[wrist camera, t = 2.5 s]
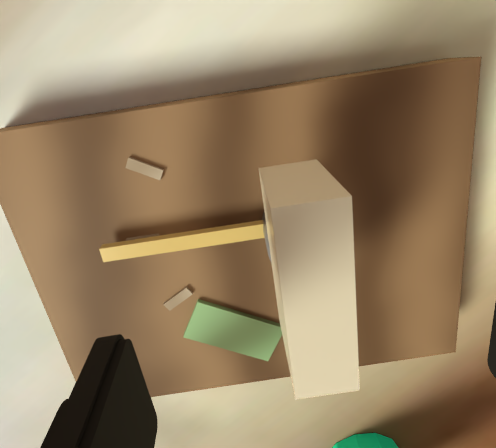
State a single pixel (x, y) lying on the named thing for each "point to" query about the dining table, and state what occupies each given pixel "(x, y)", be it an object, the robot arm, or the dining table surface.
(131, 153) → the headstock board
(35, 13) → the dining table surface
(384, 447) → the candle
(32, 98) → the dining table surface
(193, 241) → the wooden toy mallet
